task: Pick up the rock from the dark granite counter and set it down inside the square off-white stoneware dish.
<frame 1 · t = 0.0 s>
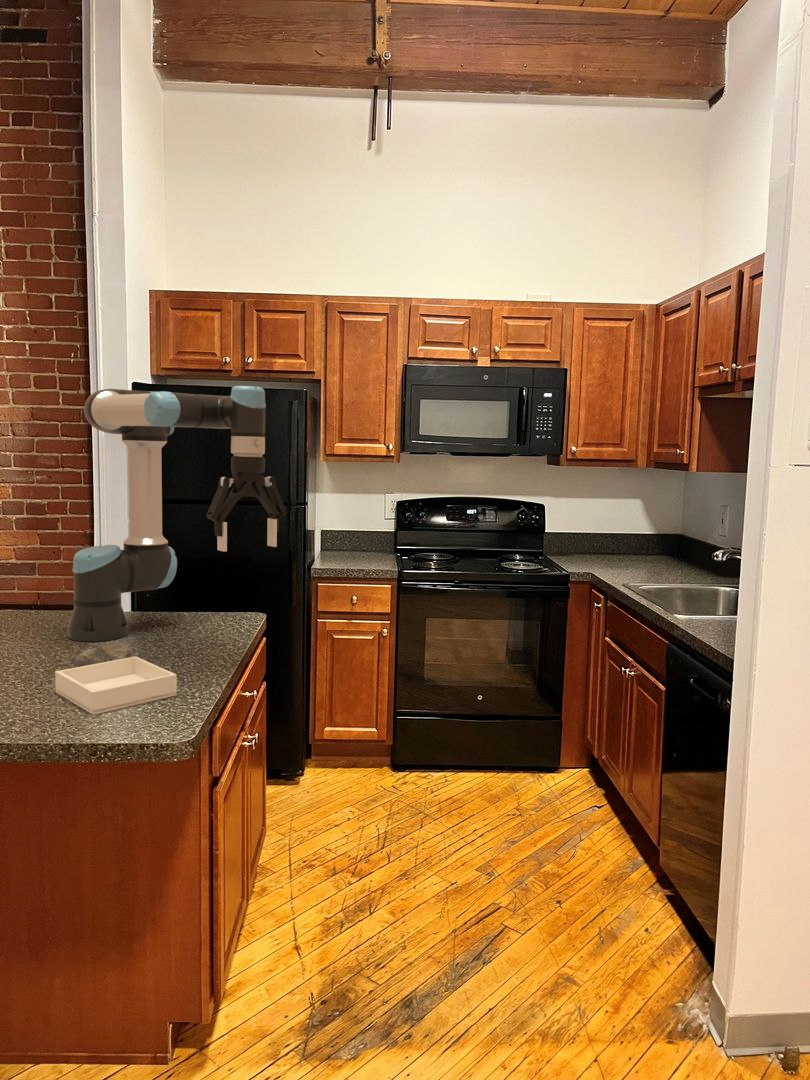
hand: (247, 548, 178), 28 cm above the countertop, fingers open, 13 cm apart
dish: (116, 693, 160), on the countertop
rock: (103, 672, 176), on the countertop
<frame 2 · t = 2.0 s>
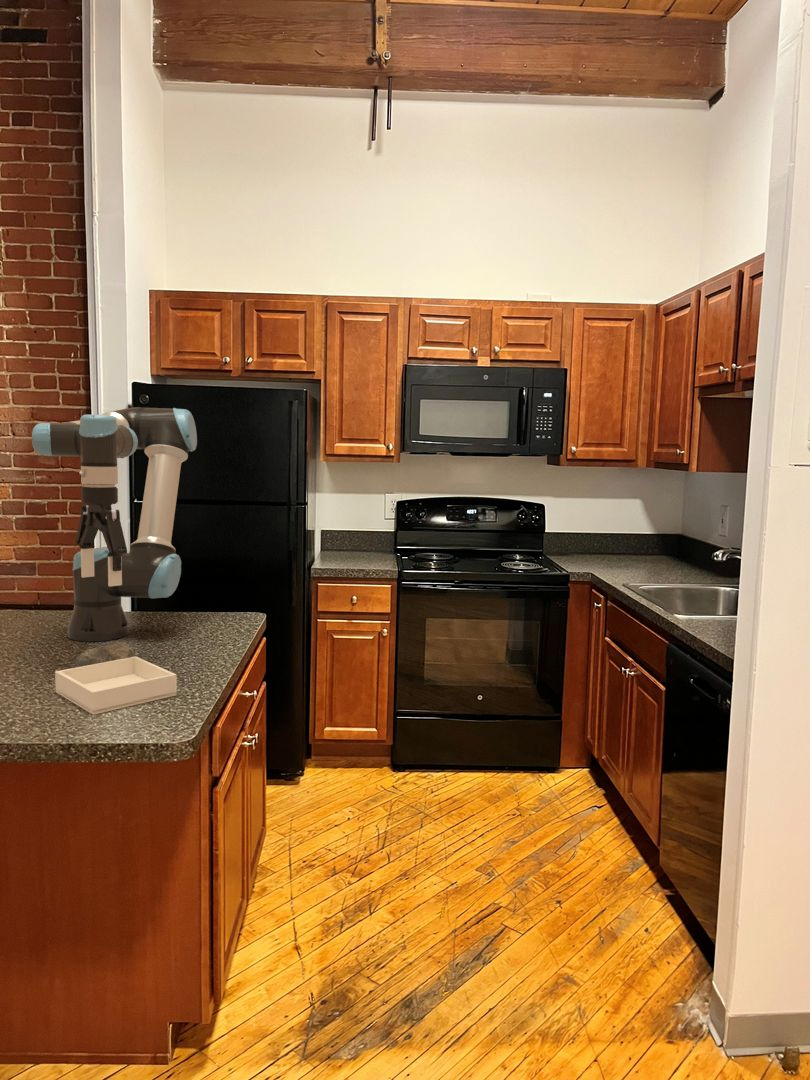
hand: (101, 581, 173), 21 cm above the countertop, fingers open, 13 cm apart
nothing on the countertop moved.
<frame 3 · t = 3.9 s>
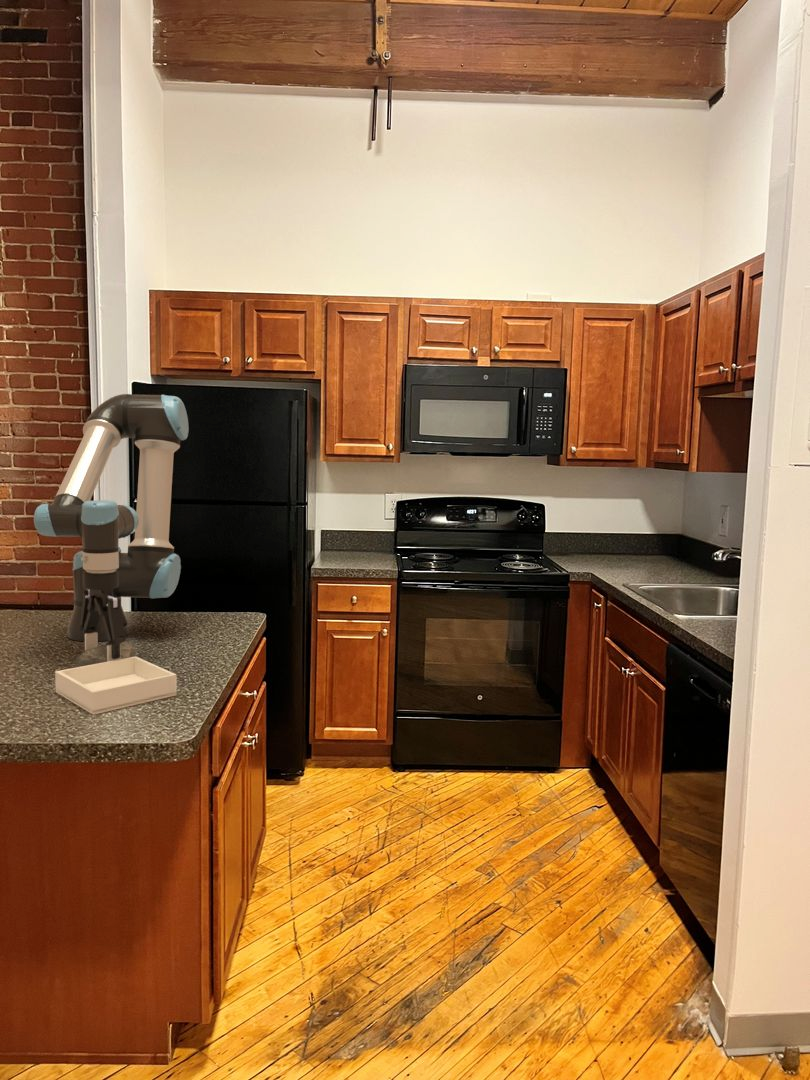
hand: (102, 666, 176), 1 cm above the countertop, fingers closed on rock, 11 cm apart
rock: (105, 671, 176), on the countertop, touching gripper
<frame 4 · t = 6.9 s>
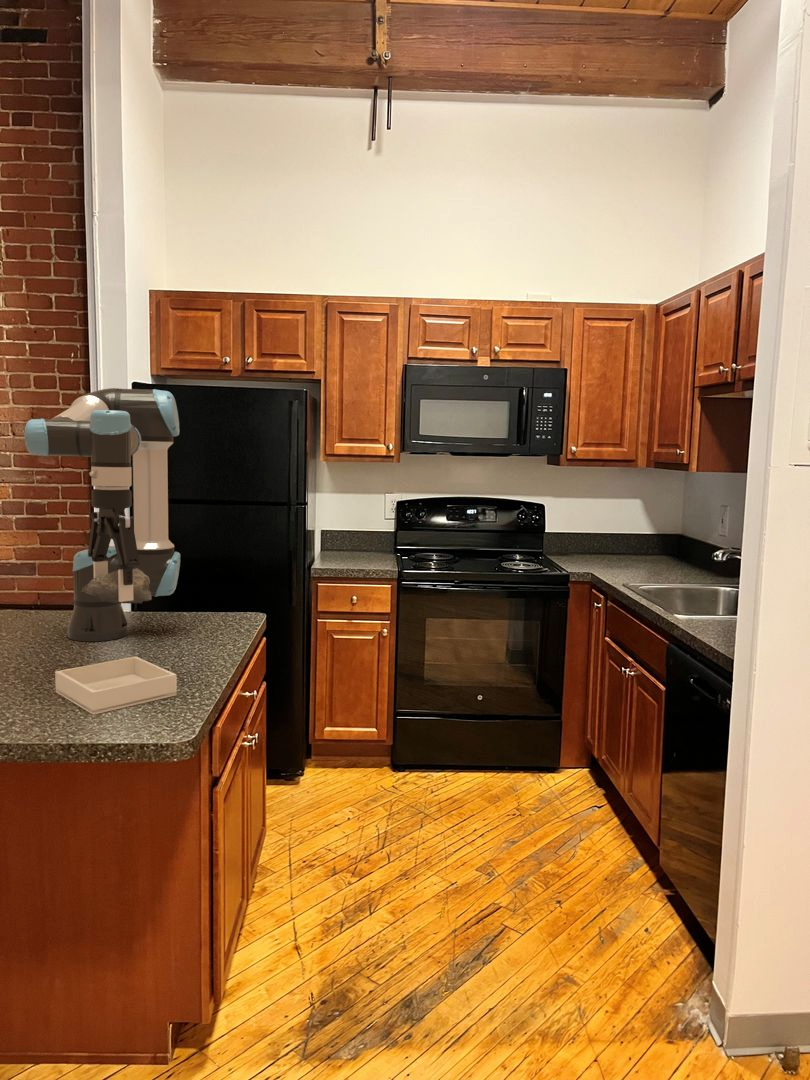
hand: (113, 596, 158), 20 cm above the countertop, fingers closed on rock, 11 cm apart
rock: (116, 601, 158), point 19 cm above the countertop, touching gripper
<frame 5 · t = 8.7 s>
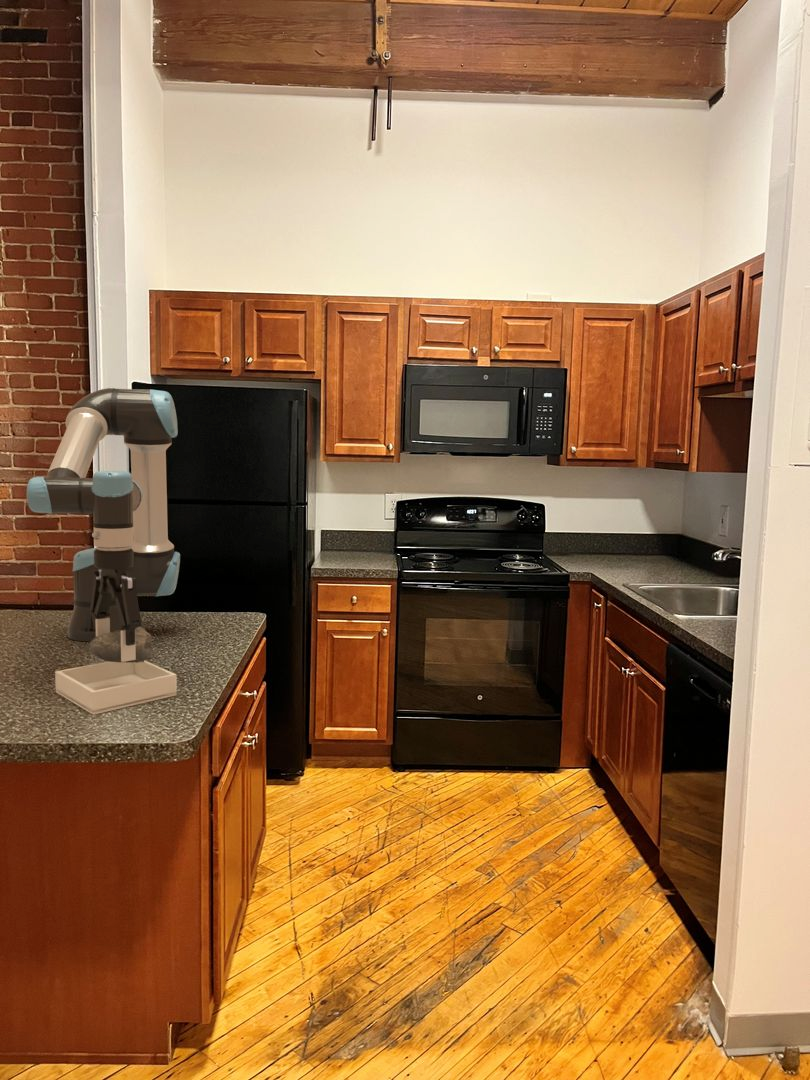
hand: (115, 654, 159), 8 cm above the countertop, fingers closed on rock, 11 cm apart
rock: (118, 659, 160), point 7 cm above the countertop, touching gripper
when the fingers open (4 cm above the countertop, at t = 10.1 s): rock drops 2 cm, resting on dish.
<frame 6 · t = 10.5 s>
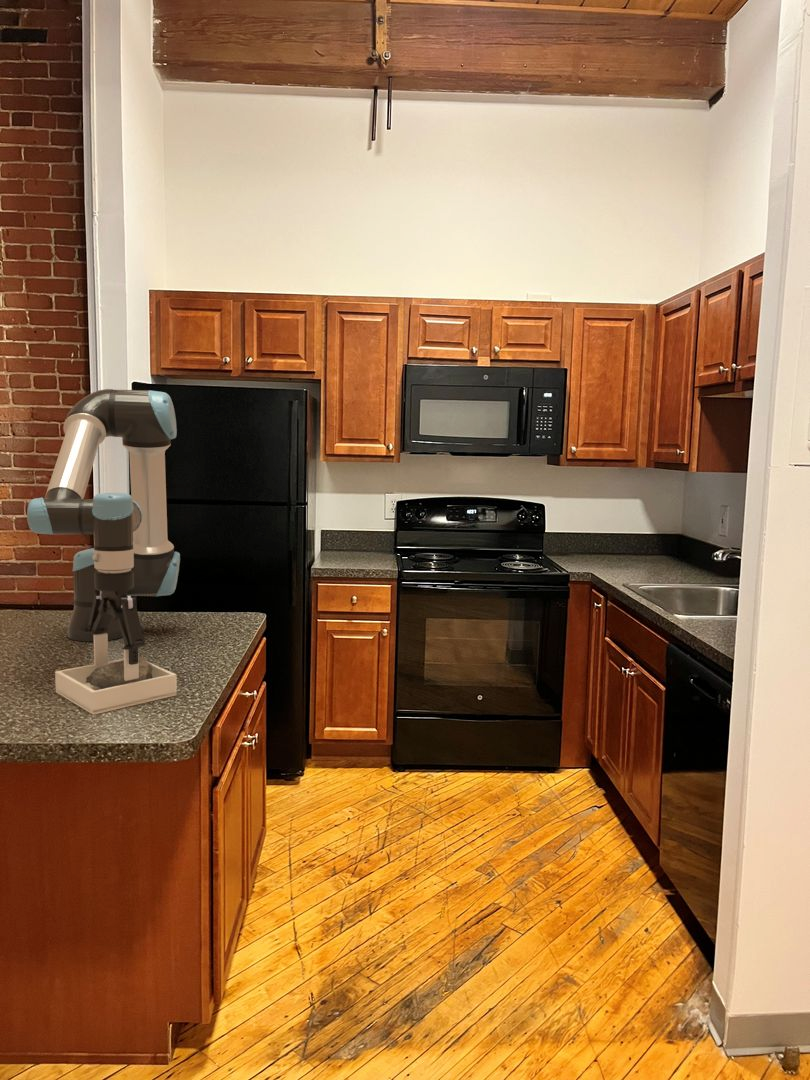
hand: (115, 671, 160), 5 cm above the countertop, fingers open, 13 cm apart
rock: (120, 690, 161), point 1 cm above the countertop, touching dish
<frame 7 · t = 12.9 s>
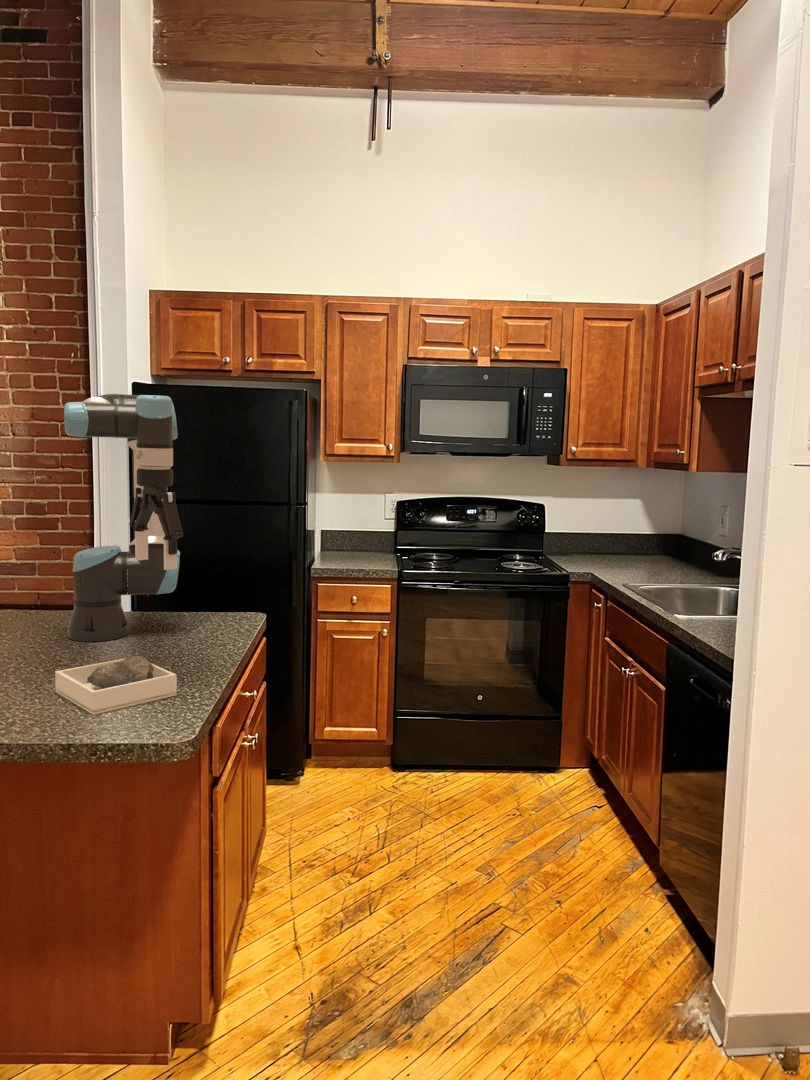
hand: (155, 564, 171), 25 cm above the countertop, fingers open, 13 cm apart
nothing on the countertop moved.
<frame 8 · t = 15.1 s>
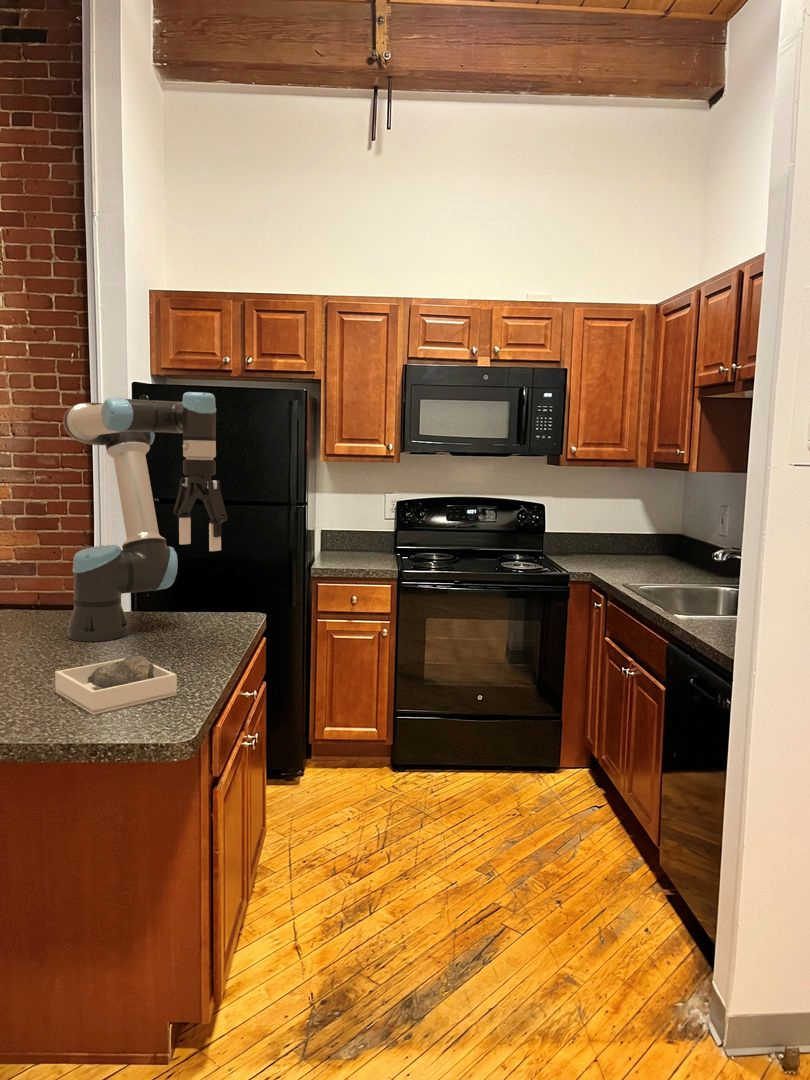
hand: (199, 547, 187), 27 cm above the countertop, fingers open, 13 cm apart
nothing on the countertop moved.
at the end: rock inside the target area on the dish (1.2 cm from its centre), point 0.6 cm above the dish's base; rock touching dish; the gripper is holding nothing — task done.
